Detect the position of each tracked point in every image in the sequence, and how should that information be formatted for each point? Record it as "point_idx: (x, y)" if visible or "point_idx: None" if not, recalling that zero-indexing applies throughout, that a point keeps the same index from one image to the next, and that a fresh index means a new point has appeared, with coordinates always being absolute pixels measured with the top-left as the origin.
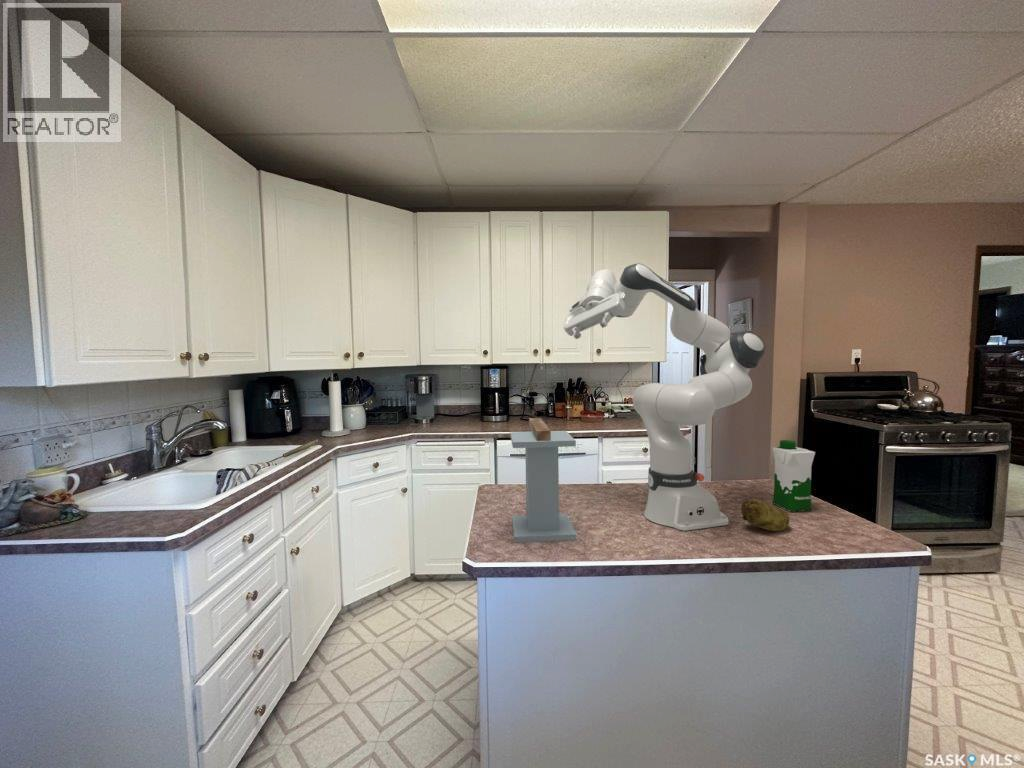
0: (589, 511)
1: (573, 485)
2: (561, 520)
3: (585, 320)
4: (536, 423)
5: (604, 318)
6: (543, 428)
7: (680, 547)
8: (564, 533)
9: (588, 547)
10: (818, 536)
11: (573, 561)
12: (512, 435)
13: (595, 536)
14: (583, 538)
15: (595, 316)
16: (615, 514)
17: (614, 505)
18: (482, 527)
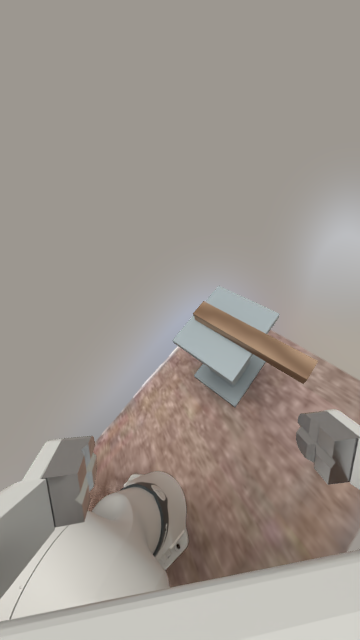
0: (233, 446)
1: (344, 543)
2: (224, 387)
3: (346, 555)
4: (253, 334)
5: (21, 483)
6: (211, 316)
7: (125, 433)
8: (202, 369)
9: (180, 374)
10: None
11: (175, 350)
12: (254, 303)
13: (188, 395)
14: (192, 384)
15: (147, 600)
16: (206, 463)
17: (227, 494)
18: (268, 332)
